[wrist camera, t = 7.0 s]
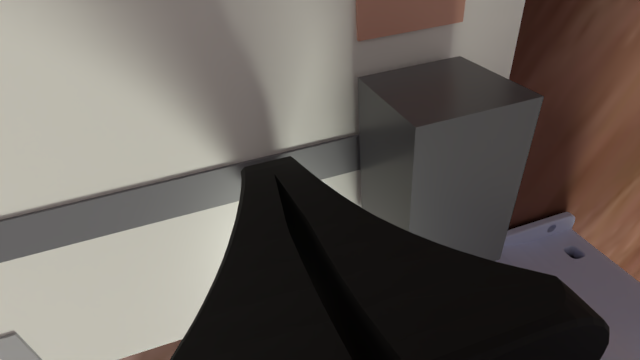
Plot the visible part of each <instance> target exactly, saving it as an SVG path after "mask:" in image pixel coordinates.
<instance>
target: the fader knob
mask: <svg viewBox="0 0 640 360" xmlns="http://www.w3.org/2000/svg"><path fill="white" fill-rule="evenodd" d="M357 78H358V109H359V140H360V172H361V203H362V208H363V209H365V210H366V211H368V212H370V213H372V214H373V215H375V216H377V217H379V218H381V219H383V220H385V221H387V222H389V223H391V224H393V225H395V226H397V227H400V228H402V229H404V230H406V231H409V232H411V233H413V234H416V235H418V236H421V237H423V238H426V239H428V240H431V241H434V242H436V243H439V244H441V245H444V246H447V247H450V248H453V249H456V250H459V251H462V252H465V253H469V254H472V255H475V256H478V257H482V258H485V259H488V260H492V261H496V260H499V259H500V257H501V254H502V250H503V246H504V242H505V239H506V235H507V231H508V228H509V224H510V220H511V216H512V213H513V209H514V205H515V202H516V198H517V194H518V191H519V187H520V183H521V179H522V176H523V172H524V168H525V165H526V161H527V157H528V153H529V150H530V146H531V142H532V139H533V135H534V131H535V127H536V124H537V120H538V116H539V113H540V109H541V105H542V102H543V98H544V96H542V95H540V94H538V93H536V92H534V91H532V90H530V89H528V88H525V87H523V86H521V85H519V84H517V83H515V82H513V81H511V80H509V79H507V78H505V77H503V76H501V75H499V74H496V73H494V72H492V71H490V70H488V69H486V68H484V67H482V66H480V65H478V64H476V63H474V62H472V61H469V60H467V59H465V58H463V57H461V56H457V57H453V58H448V59H443V60H438V61H433V62H429V63H424V64H419V65H414V66H409V67H405V68H400V69H395V70H390V71H385V72H380V73H376V74H371V75H366V76H361V77H357Z"/></svg>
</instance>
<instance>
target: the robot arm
mask: <svg viewBox="0 0 640 360" xmlns="http://www.w3.org/2000/svg"><path fill="white" fill-rule="evenodd" d="M574 222H575V216H574V215H572V214H571V213H569V212H564V213H560V214H557V215H554V216H551V217H548V218H545V219H542V220H539V221H535V222H532V223H529V224H526V225H523V226H520V227H517V228H513V229H510V230H508V231H507V235H506V239H505V242H504V246H503V250H502V254H501V257H500V259H499V260H496V261H492V260H488V259H485V258H482V257H478V256H475V255H472V254H469V253H465V252H462V251H459V250H456V249H453V248H450V247H447V246H444V245H441V244H439V243H436V242H434V241H431V240H428V239H426V238H423V237H421V236H418V235H416V234H413V233H411V232H409V231H406V230H404V229H402V228H400V227H397V226H395V225H393V224H391V223H389V222H387V221H385V220H383V219H381V218H379V217H377V216H375V215H373V214H372V213H370V212H368V211H366V210H365V209H363V208H361V207H360V206H358V205H356V204H355V203H353V202H351V201H350V200H348V199H347V198H345V197H344V196H342V195H341V194H339V193H338V192H337V191H335V190H334V189H332V188H331V187H330V186H328V185H327V184H325V183H324V182H323V181H321V180H320V179H319V178H317V177H316V176H315V175H314V174H312V173H311V172H310V171H309V170H307V169H306V168H305V167H304V166H302V165H301V164H300V163H299V162H298V161H297V160H295V159H294V158H292V157H291V156H288V157H284V158H280V159H276V160H272V161H267V162H263V163H259V164H255V165H250V166H246V167H244V168H243V169H242V170H241V192H240V199H239V204H238V209H237V214H236V219H235V222H234V226H233V229H232V233H231V236H230V239H229V243H228V246H227V249H226V251H225V254H224V257H223V260H222V262H221V265H220V267H219V269H218V272H217V274H216V277H215V279H214V281H213V283H212V285H211V287H210V289H209V292H208V294H207V296H206V298H205V300H204V302H203V304H202V306H201V308H200V310H199V312H198V313H197V315H196V317H195V319H194V321H193V323H192V324H191V326H190V328H189V329H188V331H187V333H186V334H185V336H184V338H183V339H182V341H181V343H180V344H179V346H178V348H177V349H176V351H175V353H174V354H173V356H172V357H171V359H170V360H640V282H638V281H637V280H636V279H635V278H633V277H632V276H631V275H629V274H628V273H627V272H626V271H624V270H623V269H622V268H620V267H619V266H618V265H617V264H615V263H614V262H613V261H611V260H610V259H609V258H608V257H606V256H605V255H604V254H603V253H601V252H600V251H599V250H597V249H596V248H595V247H594V246H592V245H591V244H590V243H588V242H587V241H586V240H585V239H583V238H582V237H581V236H579V235H578V234H577V233H576V232H574V231H573V230H572V227H573V224H574Z"/></svg>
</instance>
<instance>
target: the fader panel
mask: <svg viewBox="0 0 640 360" xmlns="http://www.w3.org/2000/svg"><path fill="white" fill-rule="evenodd" d="M524 5H525V0H0V360H118V359H121V358H124V357H128V356H131V355H134V354H137V353H140V352H143V351H146V350H149V349H153V348H156V347H159V346H162V345H165V344H168V343H171V342H174V341H177V340H181V339H183V338H184V336H185V334H186V333H187V331H188V329H189V328H190V326H191V324H192V323H193V321H194V319H195V317H196V315H197V313H198V312H199V310H200V308H201V306H202V304H203V302H204V300H205V298H206V296H207V294H208V292H209V289H210V287H211V285H212V283H213V281H214V279H215V277H216V274H217V272H218V269H219V267H220V265H221V262H222V260H223V257H224V254H225V251H226V249H227V246H228V243H229V239H230V236H231V233H232V229H233V226H234V222H235V219H236V214H237V209H238V204H239V199H240V192H241V170H242V169H243V168H244V167H246V166H250V165H255V164H259V163H263V162H267V161H272V160H276V159H280V158H284V157H288V156H291V157H292V158H294V159H295V160H297V161H298V162H299V163H300V164H301V165H302V166H304V167H305V168H306V169H307V170H309V171H310V172H311V173H312V174H314V175H315V176H316V177H317V178H319V179H320V180H321V181H323V182H324V183H325V184H327V185H328V186H330V187H331V188H332V189H334V190H335V191H337V192H338V193H339V194H341V195H342V196H344V197H345V198H347V199H348V200H350V201H351V202H353V203H355V204H356V205H358V206H360V207H361V208H362V203H361V172H360V140H359V109H358V78H357V77H361V76H366V75H371V74H376V73H380V72H385V71H390V70H395V69H400V68H405V67H409V66H414V65H419V64H424V63H429V62H433V61H438V60H443V59H448V58H453V57H457V56H461V57H463V58H465V59H467V60H469V61H472V62H474V63H476V64H478V65H480V66H482V67H484V68H486V69H488V70H490V71H492V72H494V73H496V74H499V75H501V76H503V77H505V78H507V79H509V77H510V72H511V67H512V62H513V58H514V53H515V48H516V43H517V38H518V34H519V29H520V24H521V19H522V14H523V9H524Z"/></svg>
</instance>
